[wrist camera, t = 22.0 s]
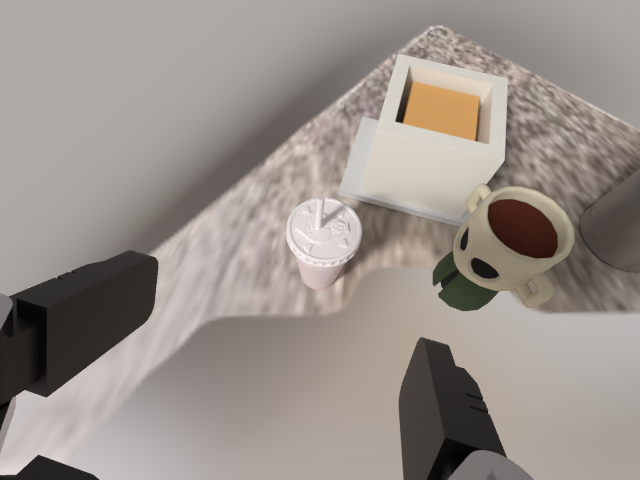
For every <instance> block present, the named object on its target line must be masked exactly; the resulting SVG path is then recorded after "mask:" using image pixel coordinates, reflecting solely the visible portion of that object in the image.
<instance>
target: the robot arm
mask: <svg viewBox="0 0 640 480" xmlns="http://www.w3.org/2000/svg"><path fill="white" fill-rule="evenodd" d="M580 229H581V234H582V236H583V238H584V240H585V242H586V243H587V245H588V246H589V248H590V249H591V250H592V251H593V252H594V253H595V254H596V255H597V256H598V257H600V258H601V259H602V260H603V261H605V262H607V263H608V264H610V265H612V266H614V267H616V268H618V269H621V270H625V271H629V272H640V169H639V170H637V171H636V172H635V173H633V174H632V175H631V176H630V177H628V178H627V179H626V180H624V181H623V182H622V183H620V184H619V185H618V186H617V187H615V188H614V189H613V190H611V191H610V192H609V193H607V194H606V195H605V196H604V197H602V198H601V199H600V200H598V201H597V202H596V203H594V204H593V205H592V206H591V207H589V208H588V209H587V210H585V212H584V213H583V214H582V216H581V219H580ZM157 275H158V261H157V259H156V258H155V257H152V256H149V255H145V254H142V253H138V252H135V251H132V250H130V251H127V252H124V253H122V254H120V255H117V256H115V257H113V258H110V259H108V260H106V261H102V262H97V263H92V264H87V265H85V266H82V267H80V268H77V269H75V270H73V271H72V272H71V273H70V272H68V273H65V274H63V275H60V276H58V278H53V279H50V280H48V281H46V282H43V283H41V284H38V285H36V286H33V287H31V288H29V289H26V290H24V291H21V292H19V293H16V294H14V295H12V296H9V297H8V296H5V295H3V294H0V452H1V449H2V446H3V443H4V440H5V437H6V434H7V431H8V428H9V425H10V422H11V419H12V416H13V413H14V410H15V406H16V395H18V394H19V393H21V392H22V391H24V390H27V391H29V392H32V393H35V394H38V395H41V396H44V397H48V396H49V395H51V394H52V393H53V392H54V391H56V390H57V389H58V388H60V387H61V386H62V385H64V384H65V383H66V382H68V381H69V380H70V379H72V378H73V377H74V376H76V375H77V374H78V373H80V372H81V371H82V370H84V369H85V368H86V367H87V366H89V365H90V364H91V363H93V362H94V361H95V360H97V359H98V358H99V357H101V356H102V355H103V354H105V353H106V352H107V351H109V350H110V349H111V348H113V347H114V346H115V345H116V344H118V343H119V342H120V341H122V340H123V339H124V338H126V337H127V336H128V335H130V334H131V333H132V332H134V331H135V330H136V329H138V328H139V327H140V326H142V325H143V324H144V323H145V322H146V321H147V320H148V318H149V317H150V315H151V313H152V311H153V308H154V303H155V294H156V284H157ZM399 418H400V431H401V444H402V445H401V447H402V461H403V474H404V475H403V476H404V480H533V479H532V477H531V476H530V475H528V473H526V472H525V471H524V470H523V469H522V468H521V467H519V466H518V465H517V464H515V463H514V462H513V461H511V460H509V459H508V458H507V456H506V454H505V452H504V449H503V446H502V444H501V441H500V439H499V436H498V434H497V432H496V429H495V427H494V424H493V422H492V419H491V417H490V415H489V414H488V409H487V407H486V404H485V402H484V401H483V397H482V394H481V392H480V389H479V387H478V384H477V383H476V382H475V381H474V379H473V378H472V377H471V376H470V375H469V373H468V372H467V371H466V370H465V369H464V368H461V367H457V366H456V365H455V362H454V359H453V356H452V353H451V350H450V348H449V346H448V345H446V344H443V343H439V342H436V341H433V340H430V339H426V338H423V337H421V338H420V339H419V340H418V342H417V345H416V347H415V350H414V352H413V355H412V358H411V360H410V363H409V366H408V369H407V371H406V375H405V377H404V379H403V382H402V386H401V390H400V395H399ZM0 480H99V479H98V478H96V477H95V476H94V475H92V474H90V473H87V472H84V471H81V470H79V469H76V468H73V467H71V466H68V465H65V464H62V463H60V462H57V461H54V460H51V459H49V458H46V457H43V456H40V455H38V456H37V457H35V458H34V459H33V460H32V461H31V462H30V463H29V464H28V465H27V466H26V467H24V468H23V469H22V470H21V471H20V472H19V473H18V474H17V475H0Z"/></svg>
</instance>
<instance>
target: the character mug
mask: <svg viewBox="0 0 640 480" xmlns="http://www.w3.org/2000/svg"><path fill="white" fill-rule="evenodd" d="M481 199H482V200H483V202H482V203H481V204H480V205H478V202H479V201H480V200H481ZM466 207H467V209H468V211H469V213H470V214H471V215H470V216H469V217H468V219H467V220H466V221H465V222H464V224H463V225H462V226H461V227H460V229H459V230H458V232H457V235H456V237H455V239H454V246H453V251H452V252H451V253H449V254H448V255H446V256H445V257H444V258H443V259H442V260H441V261H440V262H439V263H438V264H437V266H436V268H435V270H434V271H433V285H434V286H435V285H436V284H438V283H439V282H440V281H441V286H442V288H443V290H442V291H441V292H440V293H439V294H438V295H439V297H440V298H441V299H442V300H443V301H444V302H445V303H446V304H448V305H449V306H450V307H453V308H456V309H459V310H461V311H471V310H478V309H480V308H481V307H483V306H484V305H486V304H487V303H489V302H490V301H491V300H492V299H493V297H494V296H495V295H496V294H497V293H498V292H499V291H506V290H516V292H517V293H518V295H519V297H520V298H521V300H522V302H523V303H524V304H525V305H526V306H527V307H536V306H538V305H540V304H542V303H544V302H546V301H548V300H550V299H551V298H552V297H553V296H554V294H555V293H556V292H555V289H554V286H553V285H552V283H551V282H550V280H549V279H548V277H547V276H546V274H545V273H544V272H545V271H546V270H548V269H549V268H551V267H552V266H554V265H555V264H557V263H558V262H560V261H561V260H563V259H564V258H566V257H567V256H568V255H569V253H570V251H571V249H572V247H573V245H574V243H575V231H574V226H573V224H572V222H571V220H570V218H569V216H568V214H567V212H566V211H565V210H564V209H563V208H562V207H561V206H560V205H559V204H558V203H557V202H556V201H555V200H554V199H553V198H551V197H549V196H547V195H546V194H544V193H542V192H540V191H538V190H536V189H532V188H528V187H525V186H521V185H515V186H503V187H501V188H499V189H497V190H495V191H493V192H492V191H491V190H490V188H489V187H488V186H487V185H486V184H483V183H481V184H480V185H478V186H477V187H476V188H475V189H474V191H473V192H472V193H471V195H470V196H469V198H468V199H467V201H466ZM531 280H533V282H534V283H535V285H536V286H537V288H538V291H536V292H534V293H532V291H531V290H530V288H529V287H528V285H527V283H528V282H529V281H531Z"/></svg>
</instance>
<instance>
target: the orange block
mask: <svg viewBox="0 0 640 480" xmlns="http://www.w3.org/2000/svg"><path fill="white" fill-rule="evenodd" d="M478 105H479V96H475V95H470V94H466V93H462V92H457V91H453V90H449V89H444V88H440V87H436V86H432V85H427V84H423V83H419V82H414V81H413V84H412V87H411V90H410V93H409V96H408V99H407V102H406V105H405V108H404V112H403V115H402V118H401V121H400V123H403V124H407V125H411V126H415V127H419V128H423V129H427V130H431V131H435V132H440V133H444V134H448V135H452V136H456V137H460V138H464V139H468V140H472V141H475V137H476V126H477V116H478Z"/></svg>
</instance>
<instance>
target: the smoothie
mask: <svg viewBox="0 0 640 480" xmlns="http://www.w3.org/2000/svg"><path fill="white" fill-rule="evenodd" d="M286 235H287V241H288V244H289V246H290V248H291V250H292V252H293V253H294V254H295V256H296V259H297V263H298V266H299V270H300V273H301V276H302V279H303V281H304V283H305V284H306V285H307V286H308V287H310V288H312V289H316V290H322V289H326V288H328V287H329V286H330V285H332V283H333V282H334V280H335V279H336V277H337V275H338V274H339V272H340V271H341V269H342V267H343V266H344V264H345V263H346V262H347V261H348V260H349V259H350V258H352V257H353V256H354V254H355V253H356V252H357V250H358V249H359V246H360V243H361V237H362V226H361V222H360V219H359V217H358V215H357V214H356V213H355V211H354V210H353V209H352V208H351V207H349V206H348V205H347V204H345V203H343V202H341V201H339V200H337V199H333V198H327V197H325V196H324V195H323V194H319V195H318V196H317V198H313V199H310V200H307V201H305V202H303V203H301V204H300V205H298V206H297V207H296V208H295V209H294V210H293V212H292V213H291V215H290V217H289V219H288V223H287V232H286Z"/></svg>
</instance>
